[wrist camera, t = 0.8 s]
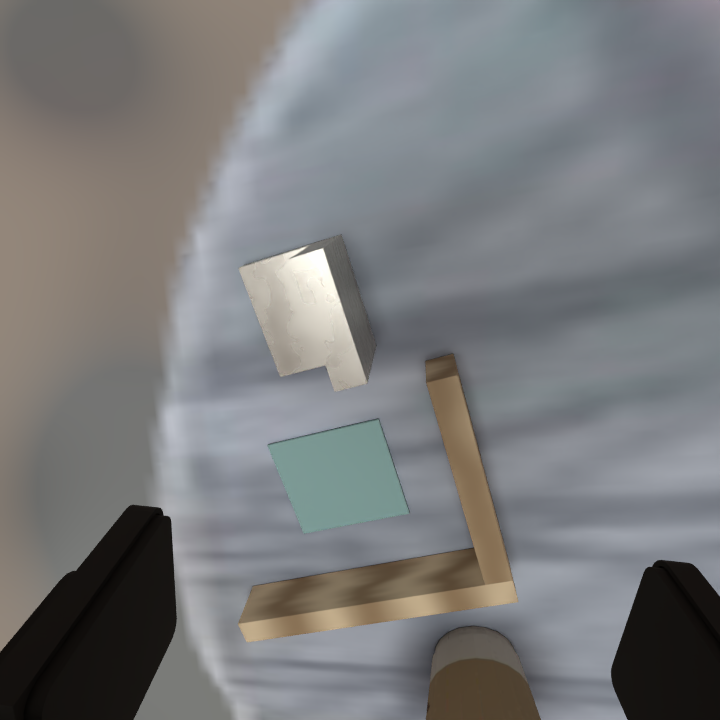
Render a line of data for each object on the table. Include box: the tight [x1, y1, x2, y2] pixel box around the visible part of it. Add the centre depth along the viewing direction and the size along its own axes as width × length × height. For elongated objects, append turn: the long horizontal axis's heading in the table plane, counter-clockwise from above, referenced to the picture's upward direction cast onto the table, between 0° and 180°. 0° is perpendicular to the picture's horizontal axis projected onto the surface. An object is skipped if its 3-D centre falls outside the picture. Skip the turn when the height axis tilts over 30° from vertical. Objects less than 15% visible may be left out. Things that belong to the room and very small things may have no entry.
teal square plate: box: [268, 419, 409, 534], centre depth 39 cm, size 9×8×1 cm
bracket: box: [239, 234, 377, 392], centre depth 32 cm, size 8×7×7 cm
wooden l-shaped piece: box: [238, 354, 518, 642], centre depth 38 cm, size 22×18×4 cm
